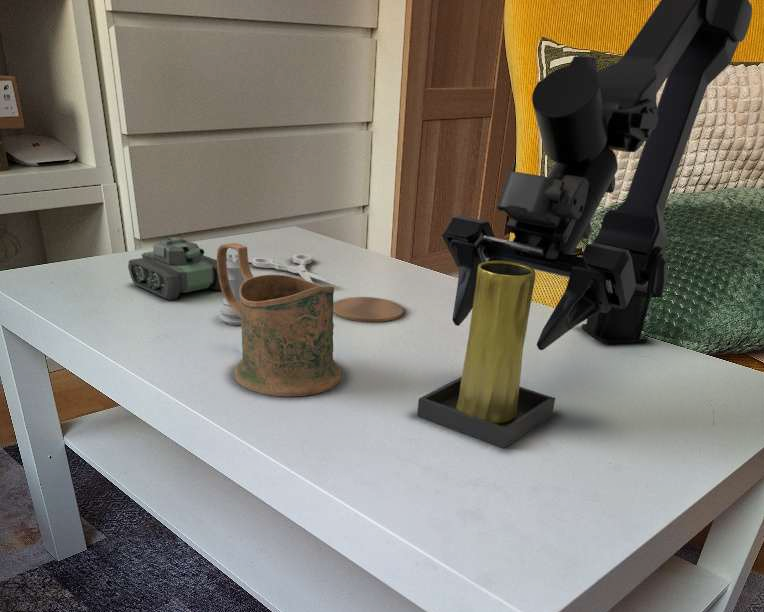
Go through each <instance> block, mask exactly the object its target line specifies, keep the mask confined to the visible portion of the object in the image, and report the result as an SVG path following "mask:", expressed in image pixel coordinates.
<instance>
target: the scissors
mask: <svg viewBox="0 0 764 612" xmlns="http://www.w3.org/2000/svg"><path fill="white" fill-rule="evenodd" d="M292 262H293V263H294V264H298V265H297V266H295V265H287V264H286V265H285V264H280V263H277V262H275V260H274V259H272V258H268V257H267V258H266V257H251V256H248V263H249V264H250V263H251V265H252V266H253V267H256V268H257V267H258V268H265V269H266V268H267V269H268V268H271V269H276V270H281V271H288V272H290V273H293V274H298V275H300V276H301V278H302V279H303V280H306V281H309V282H312V283H314V282H313V280H312V278H313V279H316V280H320V281H323V282H326V283H329V284H332V285H335V286H338V287H340V285H339V284H337V283H335V282H333V281H331V280H329V279H326V278H325V277H322V276H320V275H317V274H315V273H312V272H311V271H308V270H307V269H306V267H307V264H308V265H309V264H311V263H312V262H313V259H312V256H311V255H309V254H304V253H300V254H299V253H298V254H294V255H293V256H292Z"/></svg>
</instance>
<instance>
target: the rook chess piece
mask: <svg viewBox="0 0 764 612" xmlns="http://www.w3.org/2000/svg"><path fill="white" fill-rule="evenodd" d="M226 263H227V274H228V280H229V284H230V288H231V291H232V293H233V295H234V297H235V298H236V300H237V301H238V302H239V303H240V294H239V289H240V286H241V284H242V283H243V282H244V281H245V279H244V278H243V276H242V273H241V270H240V266H239V260H238V253H234V257H233V254H232V253H228V254H226ZM223 297H224V296H223ZM219 312H220V315H219V320H221V322H222V323H223V324H225V325H229V326H241V318H240V316H239V315H238V313H237V312H236V311H235V310H234V309H233V308H232V307H231V306H230V305H229V303H228V302H227V301H226V299H225V297H224V298H223V300H222V303H221V304H220V305H219Z"/></svg>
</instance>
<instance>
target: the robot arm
mask: <svg viewBox="0 0 764 612" xmlns="http://www.w3.org/2000/svg"><path fill="white" fill-rule="evenodd" d="M752 15H753V5H752V4H751V2H750V0H660V1H659V2H658V4H657V5H656V6H655V8H654V10H653V11H652V12H651V14H650V16H649V17H648V19H647V20H646V21H645V22H644V25H643V26H642V27H641V29H640V30H639V32H638V33H637V35H636V36H635V37H634V39H633V41H632V42H631V44H630V45H629V47H628V48H627V50H626V51H625V52H624V54H623V56H622V57H621V58H620V59H619V60H618V61H617V62H615V63H612V64H610V65H608V66H605V67H603V68H601V69H599V70H598V64H597V58H596V57H593V56H592V57H591V56H579V55H578V56H577V55H574V56H573V58H572V60H571V62H570V63H569V65H566V66H563V67H560V68H558V69H555V70H554V71H552V72H550V73H549V74H547V75H546V76H545V77H543V79H542V80H540V81H538V82H537V84H536V85H535V86H534V89H533V91H532V94H531V96H532V98H531V103H532V107H533V110H534V114H535V118H536V122H537V127H538V131H539V134H540V138H541V142H542V146H543V149H544V150H543V151H544V154H545V156H546V157H547V158H548V159H550V160H551V161H552V162H554V164H553V166H552V168H551V170H550V171H549V173H548V175H547V176H545V175H544V176H543V175H538V174H533V173H526V172H519V171H513V170H512V171H509V172H508V173H507V176H506V180H505V183H504V185H503V189H502V191H501V194H500V197H499V200H498V203H497V206H496V209H497V210H498V211H499V212H504V213H505V214H506V215H507V216H508V217H509V219H508V222H507V223H506V226H507V229H508V232H509V233H511V234H514V238H513V240H508V239H503V238H499V237H496V236H495V233H494V231H493V228H492V226H491V223H490V221H488V220H483V219H478V218H473V217H468V216H463V215H458V216H453V217H452V218H451V219H449V221H448V223H447V225H446V227H445V228H444V230H443V232H442V233H441V237H442V240H443V241H444V243H445V245H446V247H447V249H448V251H449V253H450V255H451V257H452V259H453V261H454V263H455V265H456V267H457V268H458V279H457V287H456V293H455V299H454V305H453V307H454V308H453V311H452V322H453V324H454V325H455V326H457V327H459V326H461V324H462V323H463V322H464V321H465V319H467V317H468V316H469V314H470V313H471V312H472V309H473V301H474V294H475V288H476V280H477V271H478V265H479V264H480V263H483V262H488V261H509V262H515V263H520V264H524V265H527V266H529V267H531V268H533V269H534V271H539V272H544V273H548V274H552V275H556V276H560V277H565V278H568V280H567V284H566V288H565V290H564V293H563V294H562V295H561V298H560V299H559V301H558V302H557V305H556V306H555V308H554V310H553V311H552V313H551V315H550V316H549V318H548V320H547V321H546V322H545V325H544V326H543V328H542V330H541V333H540V335H539V337H538V340H537V341H536V346H537V349H538V350H539V351H545V349H547V348H548V347H549V346H550V345H552V344H553V343H555V342H556V341H558V340H559V339H560V338H561V337H563V336H564V335H565V334H566V333H568V332H569V331H571V330H573V329H574V328H575V327H576V326H578V325H579V324H581V323H582V324H581V327H580V328H581V329H582V330H583V331H585V332H587V333H588V334H590V335H591V336H592V337H594V338H596V339H597V340H598V341H600V342H601V343H603V344H605V345H612V344H628V343H629V344H630V343H646V342H648V340H649V337H648V336H646V335H645V334H643V333H642V332H643V328H644V324H645V321H646V317H647V312H648V309H649V305H650V301H651V299H653V298H662V297H663V296H664V291H665V287H666V284H667V279H668V276H669V275H668V263H667V252H666V245H667V241H668V234H667V229H666V224H665V219H664V214H663V213H664V210H665V207H666V203H667V201H668V198H669V195H670V193H671V190H672V187H673V185H674V181H675V178H676V175H677V172H678V171H679V167H680V166H681V165H680V164H681V162H682V158H683V156H684V154H685V150H686V147H687V145H688V142H689V139H690V136H691V134H692V130H693V127H694V125H695V122H696V119H697V116H698V114H699V111H700V108H701V105H702V103H703V100H704V98H705V97H704V96H705V94H706V91H707V88H708V86H709V85H710V84H711V83H712V82H713V81H714V80H715V79H716V78H718V76H719V75H720V74H721V73H722V72H723V71H724V70H726V68H728V66H730V65H731V64H732V61H733V58H734V55H735V54H736V51H737V49H738V46H739V43H742V42H743V41H744V40H745V38H746V36H747V33H748V30H749V29H750V24H751V21H752ZM663 85H664V86H663ZM662 87H663V89H662V92H661V94H660V98H659V101H658V100H657V95H658V93H659V91H660V89H661V88H662ZM657 101H658V103H657ZM643 144H644V145H643ZM642 146H643V148H642V150H641V153H640V156H639V159H638V162H637V165H636V169H635V171H634V174H633V177H632V180H631V183H630V186H629V189H628V191H627V195H626V197H625V199H624V201H623V202H622V203H621V204H619V205H618V207H617V208H616V209H611V208H610V209H608V210H607V211H606V213H605V214H604V216H603V219H602V222H601V225H600V229H599V232H598V234H597V235H596V236H595V238H594V239H593V241H592V242H591V243H588V244H586V246H585V248H584V250H583V252H582V254H581V256H578V255H574V253H575V251H576V249H577V248H578V245H579V244H580V242H581V240H582V239H584V240H588V239H589V236H590V235H591V234H592V224H591V221H592V219H593V217H594V215H595V213H596V212H597V210H598V208H599V206H600V204H601V203H602V200H603V199H604V197H605V195H606V194H613V193H614V192H615V188H616V174H617V172H618V170H619V162H618V160H617V159H618V158H617V156H616V153H615V152H614V151H617V152H625V153H635V152H637V151H638V150H639V149H640V148H641V147H642ZM585 321H586V323H583V322H585Z"/></svg>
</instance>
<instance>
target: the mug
mask: <svg viewBox="0 0 764 612" xmlns="http://www.w3.org/2000/svg"><path fill="white" fill-rule="evenodd" d="M229 249H232V250H235V251H236V252H237V254H238V260H239V266H240V270H241V273H242V276H243V278H244V279H245V281H244V282H243V283H242V284H241V286H240V289H239V294H240V303H239V302H238V301H237V300H236V298H235V297H234V295H233V293H232V291H231V288H230V284H229V280H228V274H227V263H226V255H227V253H228V250H229ZM248 253H249V252H248V247H247V246H246V245H243V244H240V243H235V242H231V243H223V244H221V245H220V246H219V247H218V249H217V252H216V260H217V269H218V277H219V282H220V287H221V290H220V291H221V293H222V295H223V297H225V299H226V301H227V302H228V303H229V305H230V306H231V307H232V308H233V309H234V310H235V311H236V312H237V313H238V315H239V316H240V318H241V325H240V326H241V349H242V359H241V360H240V361H239V362H238V363H237V364H236V366H235V368H234V378H235V380H236V382H237V383H238V385H240V386H241V387H243V388H244V389H247V390H249V391H252V392H254V393H258V394H262V395H266V396H274V397H305V396H311V395H316V394H320V393H324V392H327V391H330V390H331V389H332V388H335V386H337V385H338V384H339V383H340V381H341V379H342V370H341V368H340V365H338V364H337V363H336V361H335V360H334V326H335V323H334V311H333V305H334V293H335V287H334V286H326V285H321V284H319V283H316V282H315V283H314V282H313V281H312V282H313V283H312V282H309V281H306V280H304V279H303V278H299V277H294V276H291V275H287V274H286V275H285V274H263V275H262V274H261V275H257V276H256V275H255V276H254V274H253V273H252V271H251V268H250V262H248V257H249V256H248Z"/></svg>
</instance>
